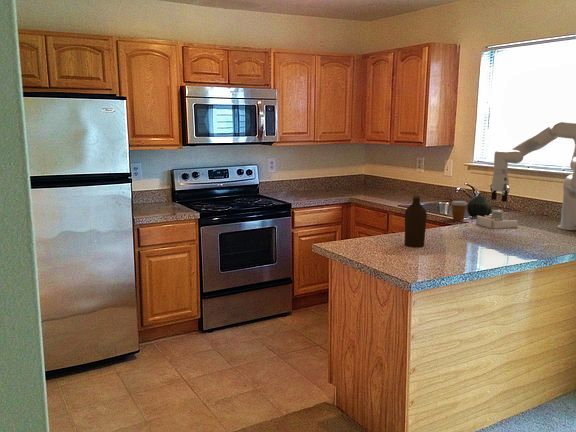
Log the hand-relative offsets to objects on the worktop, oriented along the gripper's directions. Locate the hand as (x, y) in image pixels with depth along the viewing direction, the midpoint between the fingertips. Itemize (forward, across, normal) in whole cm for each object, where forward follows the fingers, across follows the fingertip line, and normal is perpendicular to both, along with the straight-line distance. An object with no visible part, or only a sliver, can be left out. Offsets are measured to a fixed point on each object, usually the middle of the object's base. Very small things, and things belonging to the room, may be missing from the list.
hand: (498, 200), depth 304 cm
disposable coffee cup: (+15, +22, +13) cm, 30 cm away
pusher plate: (+15, 0, +4) cm, 16 cm away
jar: (+15, 0, +1) cm, 15 cm away
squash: (+15, +30, -7) cm, 35 cm away
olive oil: (+14, -38, +75) cm, 85 cm away
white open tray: (+15, 0, +1) cm, 15 cm away
